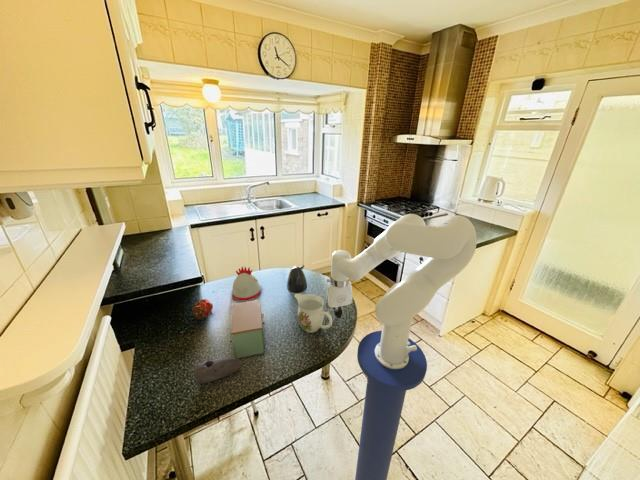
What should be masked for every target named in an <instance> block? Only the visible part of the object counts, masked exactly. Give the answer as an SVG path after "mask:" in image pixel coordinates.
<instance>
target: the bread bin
mask: <svg viewBox="0 0 640 480" xmlns="http://www.w3.org/2000/svg"><path fill="white" fill-rule="evenodd" d="M231 311H232V312H231V326H230V335H231V336H232V341H233V347H234V353H235V358H236V359H241V358H246V357H250V356H255V355H260V354H264V353H265V349H264V348H265V347H266V346H265V344H266V343H265V334H264V324H265V316H264V315H265V314H264V313H263V312H262V304H261V300H260V299H255V300H247V301H241V302H235V303H232V310H231Z"/></svg>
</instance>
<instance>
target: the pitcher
mask: <svg viewBox="0 0 640 480" xmlns="http://www.w3.org/2000/svg"><path fill="white" fill-rule="evenodd" d="M293 297H294V298H295V299H296V301H297V303H298V304H297V305H298V309H297V319H298V323H299V325H300V327H301V328H302V330H304V331H305V332H306V333H309V334H312V333H316V332H317V331H319V329H322V330H328V329H330V328H331V327H332V325H333V316H332V315H331V314H330V313H329V312H328V311H325V309H324V304H325V301H324V299H323V297H321V296H319V295H318V294H313V293H306V294H305V293H304V294H295V295H294V296H293ZM325 317H326V318H328V324H326V325H324V323H323V322H324V320H325Z"/></svg>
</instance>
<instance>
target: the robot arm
mask: <svg viewBox="0 0 640 480" xmlns="http://www.w3.org/2000/svg"><path fill="white" fill-rule="evenodd" d="M477 244H478V238H477V232H476V229H475V226H474V224H473V223H472V221H470V219H469V218H467V217H466V216H463V215H450V216H448V217H446V218H443V220H441V221H440V222H439V223H437V224H436V226H435V225H434V226H433V225H427V224H426V222H425V220H424V219H423V217H421V216H420V215H418V214H416V213H408V214H404V215H403V216H401V217H398V218H397V219H396V220H395V221H393V222H392V223H390V224H389V226H388V227H387V228H386V229H385V230H384V231H383V232H382V233H379V234H378V235H377V236H376V237H375V238H374V240H373V243H372V244H370V245H369V246H368V247H367V248H366V249H364V250H363V251H362V252H361V253H359V254H357V255H356V256H354V257H353V258H352V255H351V253H350V252H349V251H348V250H346V249H345V250H344V249H338V250H334V251H333V252H332V253H331V260H330V261H331V262H330V276H329V278H327V279H326V281H327V283H328V285H327V289H326V297H325V298H326V299H325V300H326V304H325V306H326V308H327V309H331V308H332V309H333V314H334V316H335V317H336V319H341V318H342V315H343V310H344V309H345V308H346V307H347V306H350V305H352V303H353V286H352V282H358V281H361V280H362V279H363V278H364V277H365V276H366V275H367V274H368V273H370V272H371V271H372V270H373V269H375V268H376V267H377V266H379V265H381V264H382V263H383V262H384V261H386V260H391V259H393V258H395V257H397V255H399V254H400V253H405V254H409V255H415V256H420V257H427V259H426V260H424V261H423V262H422V263H421V264H420V265H418V266H417V267H416V268H414V269H412V270H411V271H410V272H408V274H407V275H405V277H404V278H403V279H402V280H401V281H400V282H396V283H395V284H393V285H392V286H391V287H390V288H388V289H387V291H386V292H384V294H383V295H382V296H381V297H380V298H379V300H377V302H376V304H375V307H374V312H375V313H374V314H375V316H376V318H377V320H378V321H379V322H380V323H381V324H382V327H381V331H382V333H381V340H380V343H379V344H377V346H376V348H375V357H376V359H377V360H378V361H379V362H380V363H381V364H382V365H383V366H385V367H387V368H390V369H401V368H404V367H405V366H406V365H407V364H408V361H409V355H408V353H410V351H416V350H417V347H416V345H413V346H409V347H408V345H410V342H408V338H409V339H410V333H411V328H412V324H413V319H414V317H415V316H417V315H418V314H420V313H421V312H422V311H424V309H426V308H427V307H428V305H429V304H430V303H431V302H432V300H433V298H434V296H435V295H436V294H437V292H438V291H439V290H440V289H441V288H442V287H443V286H445V285H446V284H447V283H449V282H450V281H451V280H453V279H454V278H455V277H456V276H457V275H459V274H460V273H461V272H462V271H464V269H465V268H466V267H467V266H468V265H469V263H470V262H471V261H472V259H473V258H474V255H475V253H476V249H477ZM351 281H352V282H351Z"/></svg>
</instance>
